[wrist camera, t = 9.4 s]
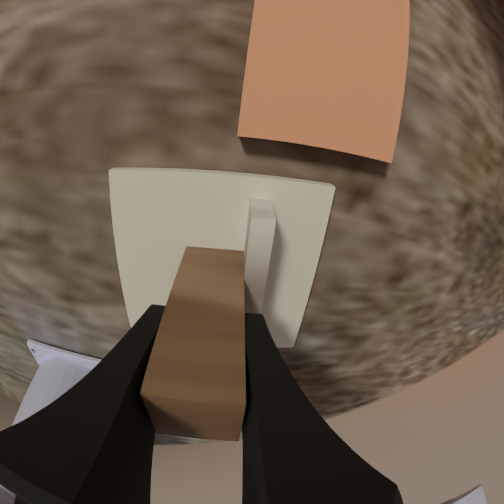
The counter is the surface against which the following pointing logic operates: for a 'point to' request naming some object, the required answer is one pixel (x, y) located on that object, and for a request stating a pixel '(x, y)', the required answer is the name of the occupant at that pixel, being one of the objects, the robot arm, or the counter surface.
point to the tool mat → (216, 233)
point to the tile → (327, 74)
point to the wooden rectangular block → (209, 336)
